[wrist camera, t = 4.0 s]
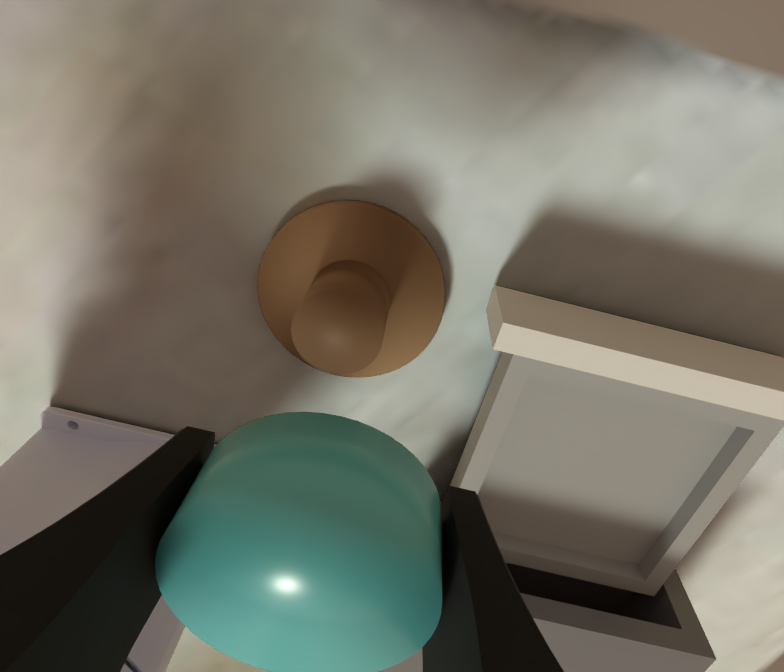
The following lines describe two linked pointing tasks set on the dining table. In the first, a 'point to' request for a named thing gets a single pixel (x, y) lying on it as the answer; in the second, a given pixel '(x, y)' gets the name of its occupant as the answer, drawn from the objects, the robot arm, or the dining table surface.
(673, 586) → the grey drawer box
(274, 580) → the teal dome
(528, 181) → the dining table surface
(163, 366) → the dining table surface
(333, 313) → the stand
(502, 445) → the tray
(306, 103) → the dining table surface
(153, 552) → the robot arm
